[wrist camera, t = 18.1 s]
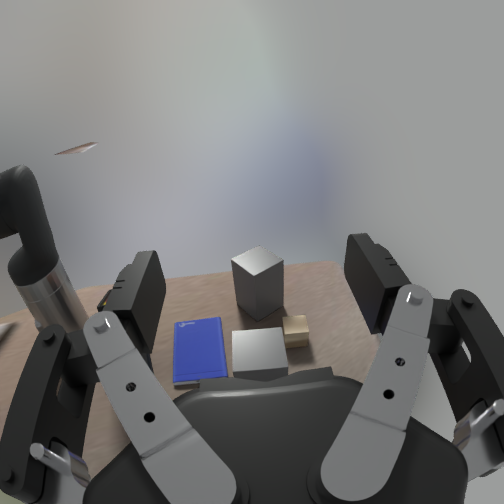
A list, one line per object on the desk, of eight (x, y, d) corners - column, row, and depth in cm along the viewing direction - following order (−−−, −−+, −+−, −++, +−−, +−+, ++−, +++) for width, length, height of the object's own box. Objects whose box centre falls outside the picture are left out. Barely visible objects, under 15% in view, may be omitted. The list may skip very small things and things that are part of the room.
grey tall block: (257, 321, 49) (253, 275, 44) (236, 303, 53) (230, 259, 48) (283, 305, 52) (283, 259, 47) (262, 289, 56) (259, 245, 51)
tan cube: (307, 346, 44) (309, 331, 42) (284, 348, 44) (284, 334, 42) (304, 329, 47) (305, 314, 45) (282, 331, 47) (282, 316, 45)
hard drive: (174, 322, 49) (172, 381, 38) (220, 316, 49) (227, 375, 39) (176, 328, 49) (175, 387, 39) (221, 322, 50) (229, 381, 40)
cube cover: (285, 406, 35) (288, 366, 30) (241, 409, 35) (232, 371, 30) (280, 371, 40) (281, 327, 35) (240, 374, 40) (232, 331, 35)
